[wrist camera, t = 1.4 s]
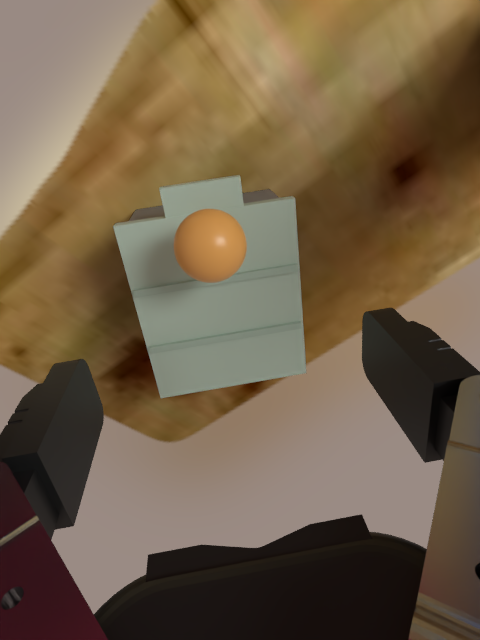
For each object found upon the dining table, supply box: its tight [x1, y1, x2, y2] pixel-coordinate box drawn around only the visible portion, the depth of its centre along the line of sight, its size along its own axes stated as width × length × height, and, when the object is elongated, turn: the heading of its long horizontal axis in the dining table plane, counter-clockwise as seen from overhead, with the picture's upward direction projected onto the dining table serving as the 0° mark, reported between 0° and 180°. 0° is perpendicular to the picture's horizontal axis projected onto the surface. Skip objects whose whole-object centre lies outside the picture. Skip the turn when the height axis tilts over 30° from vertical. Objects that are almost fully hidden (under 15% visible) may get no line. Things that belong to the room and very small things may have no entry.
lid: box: [113, 175, 306, 398], centre depth 26 cm, size 12×15×7 cm
